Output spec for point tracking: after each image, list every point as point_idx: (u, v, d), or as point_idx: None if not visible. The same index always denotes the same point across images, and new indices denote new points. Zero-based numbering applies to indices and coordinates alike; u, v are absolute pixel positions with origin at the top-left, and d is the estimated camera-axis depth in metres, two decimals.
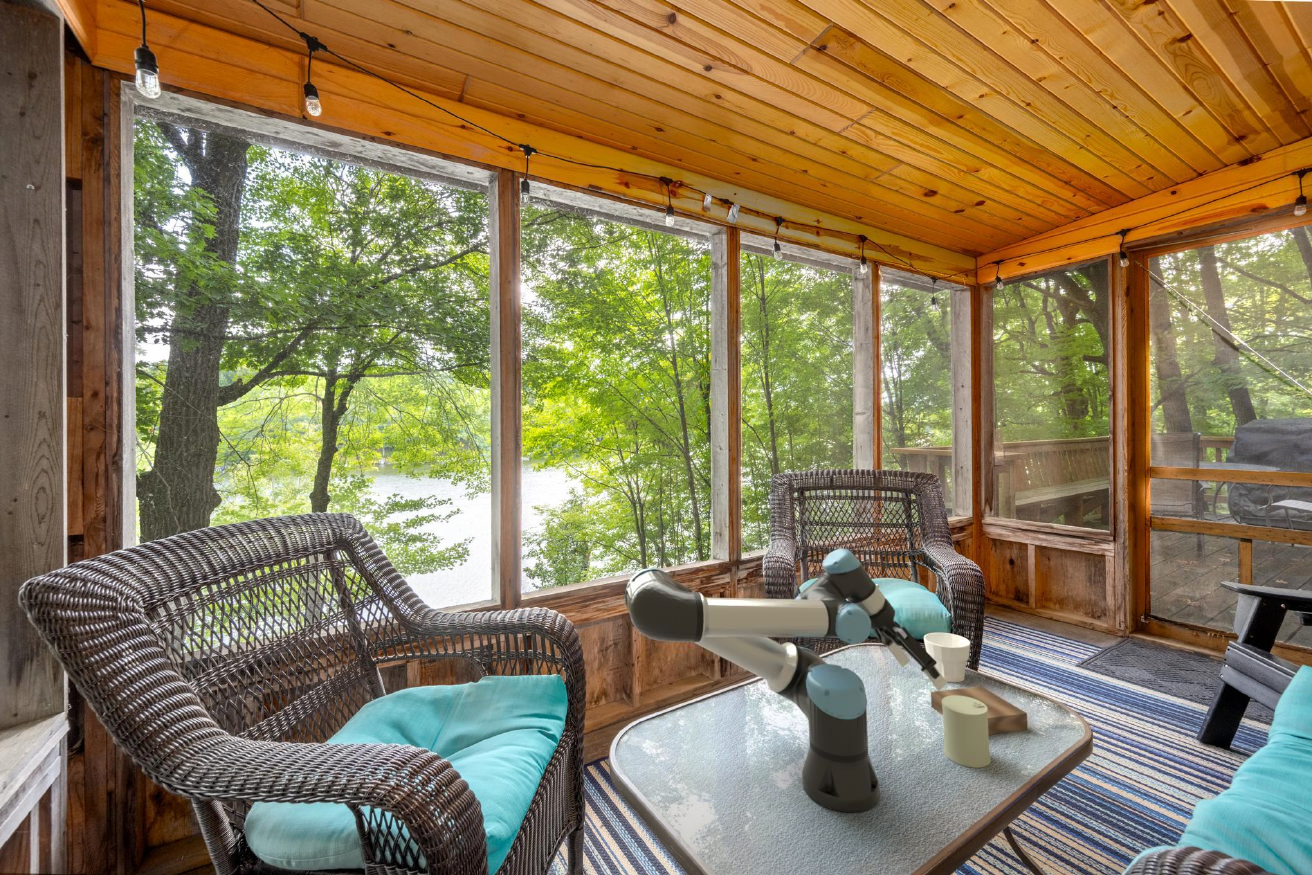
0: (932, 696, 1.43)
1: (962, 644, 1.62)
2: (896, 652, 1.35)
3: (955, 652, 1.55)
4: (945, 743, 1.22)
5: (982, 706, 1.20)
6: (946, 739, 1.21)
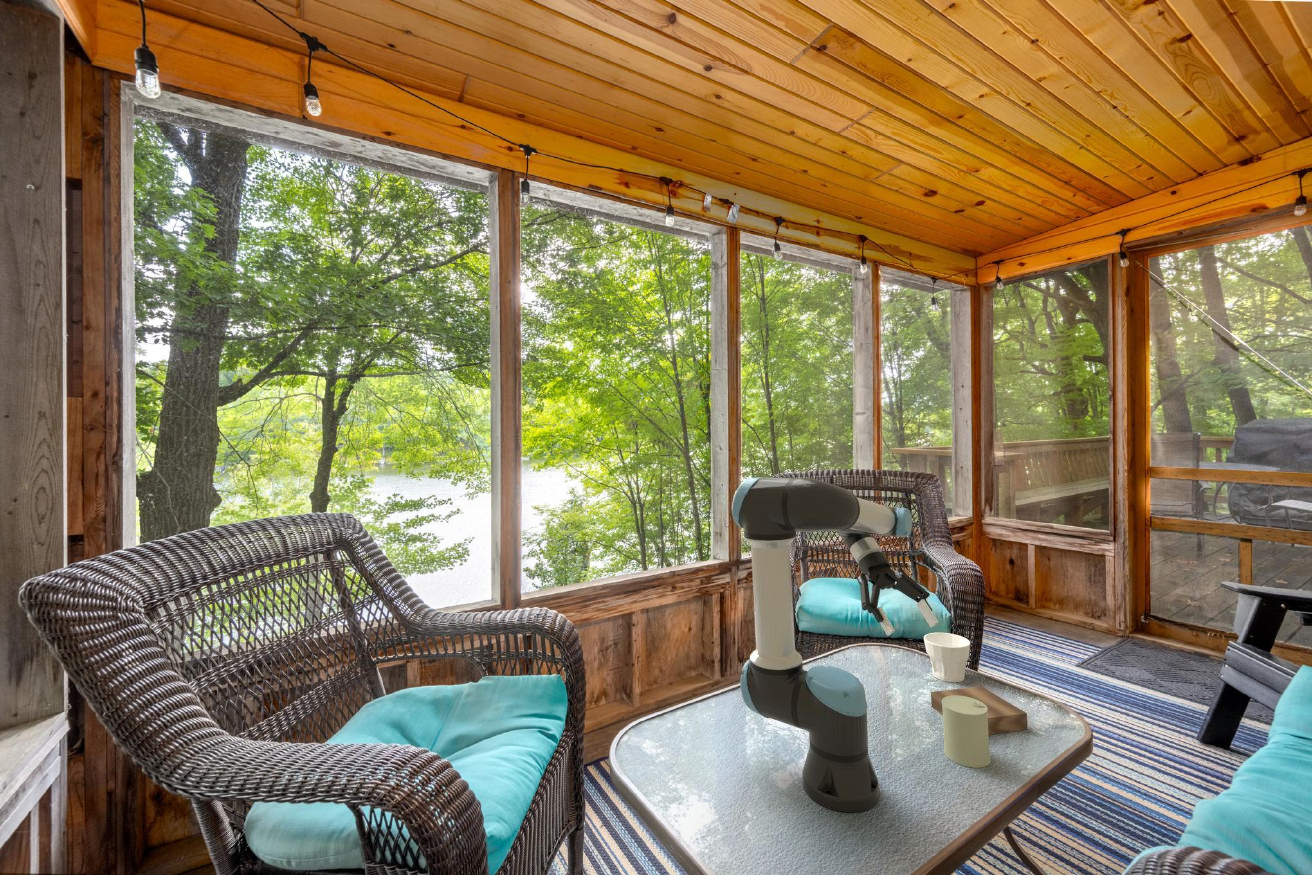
0: (932, 696, 1.43)
1: (962, 644, 1.62)
2: None
3: (955, 652, 1.55)
4: (945, 743, 1.22)
5: (982, 706, 1.20)
6: (946, 739, 1.21)
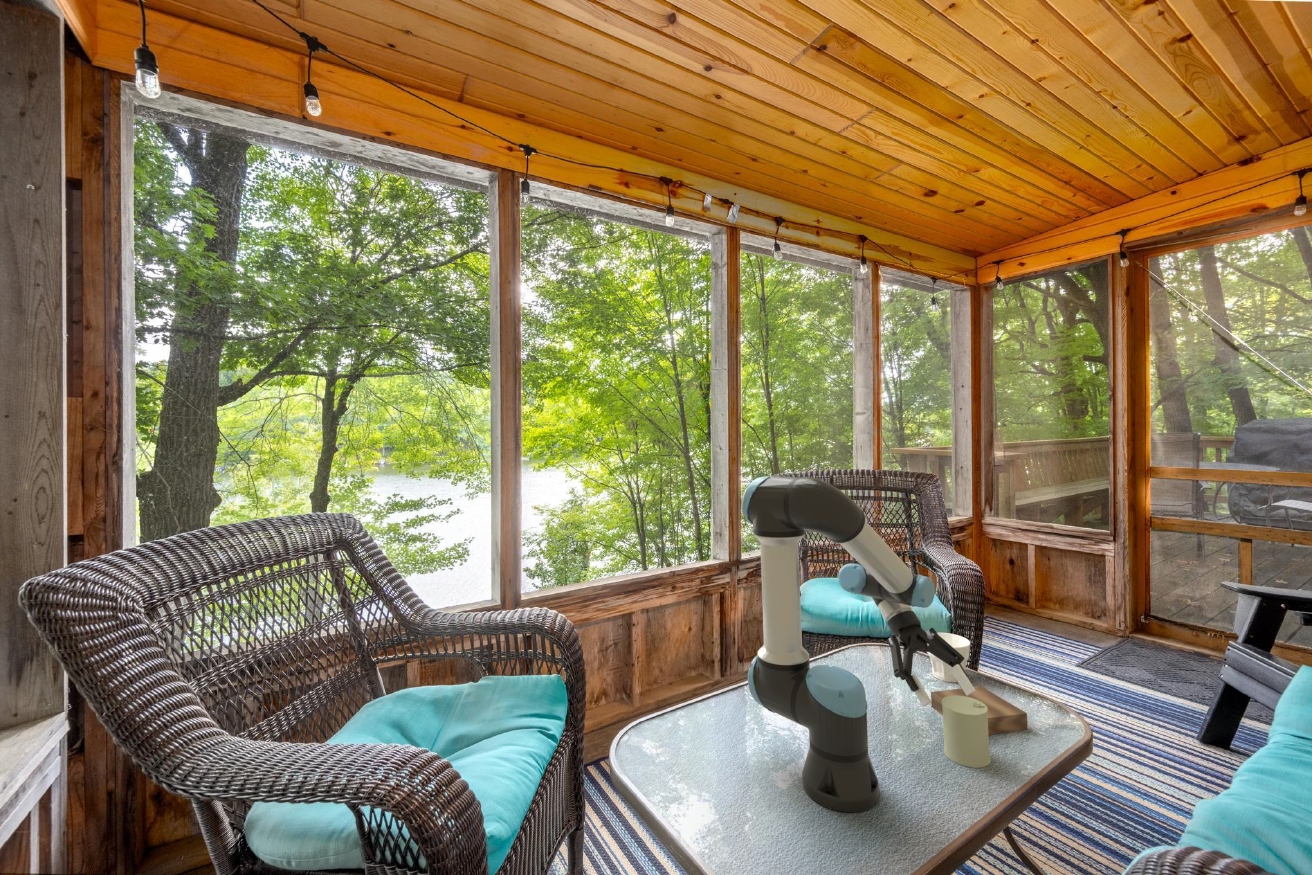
0: (932, 696, 1.43)
1: (962, 644, 1.62)
2: None
3: None
4: (945, 743, 1.22)
5: (982, 706, 1.20)
6: (946, 739, 1.21)
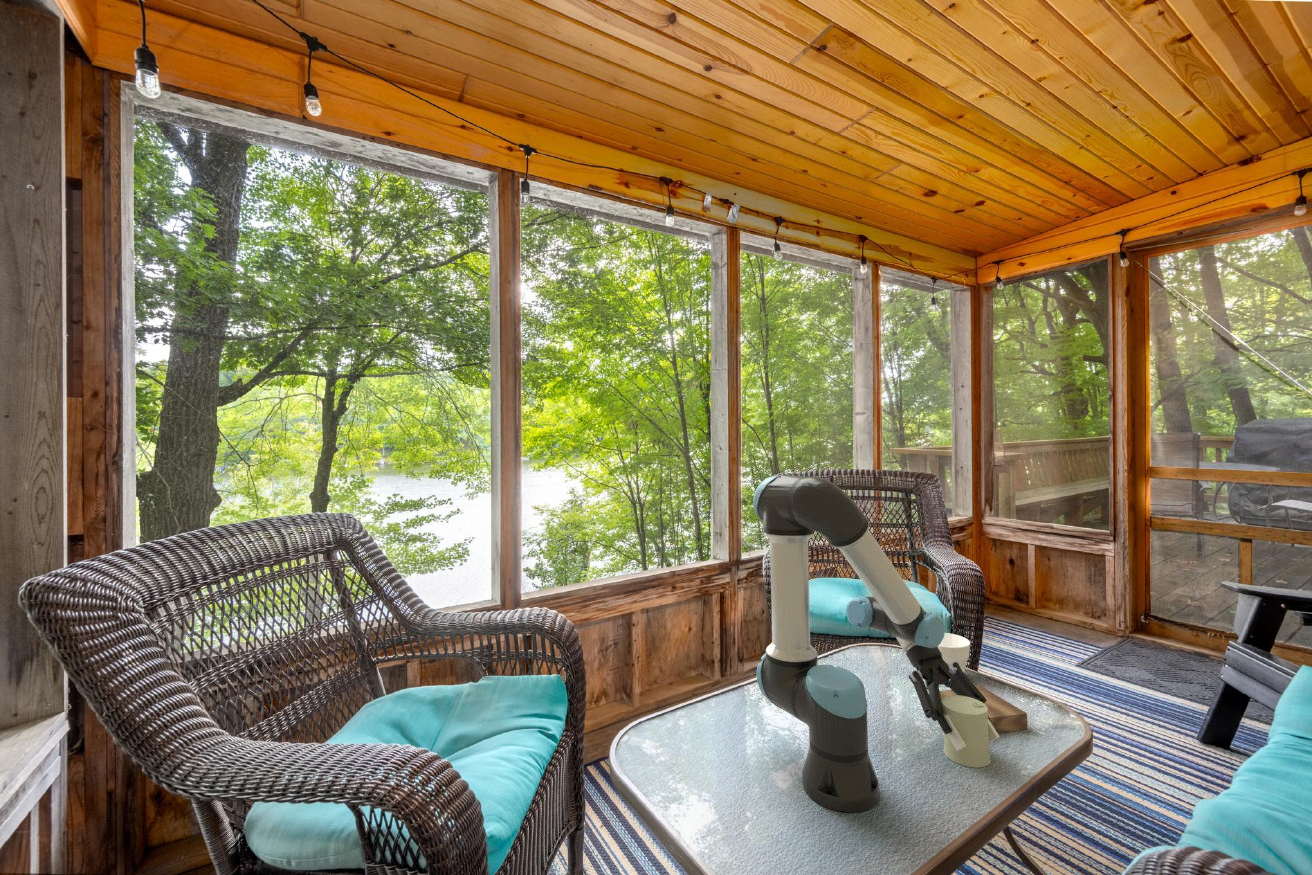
0: None
1: (962, 644, 1.62)
2: None
3: (955, 652, 1.55)
4: (945, 743, 1.22)
5: (982, 706, 1.20)
6: (946, 739, 1.21)
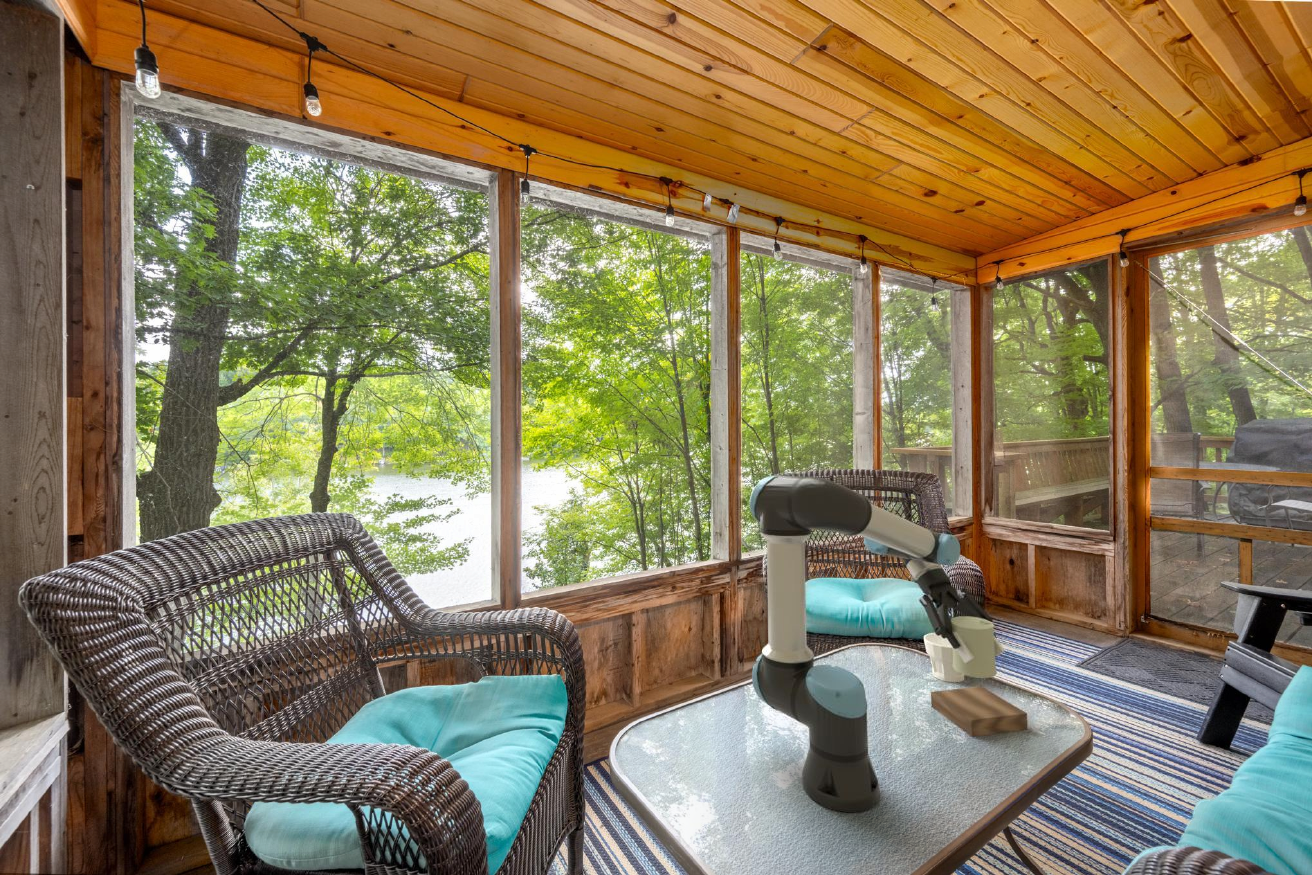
0: (932, 696, 1.43)
1: None
2: None
3: None
4: (954, 658, 1.31)
5: (988, 623, 1.29)
6: (955, 654, 1.30)
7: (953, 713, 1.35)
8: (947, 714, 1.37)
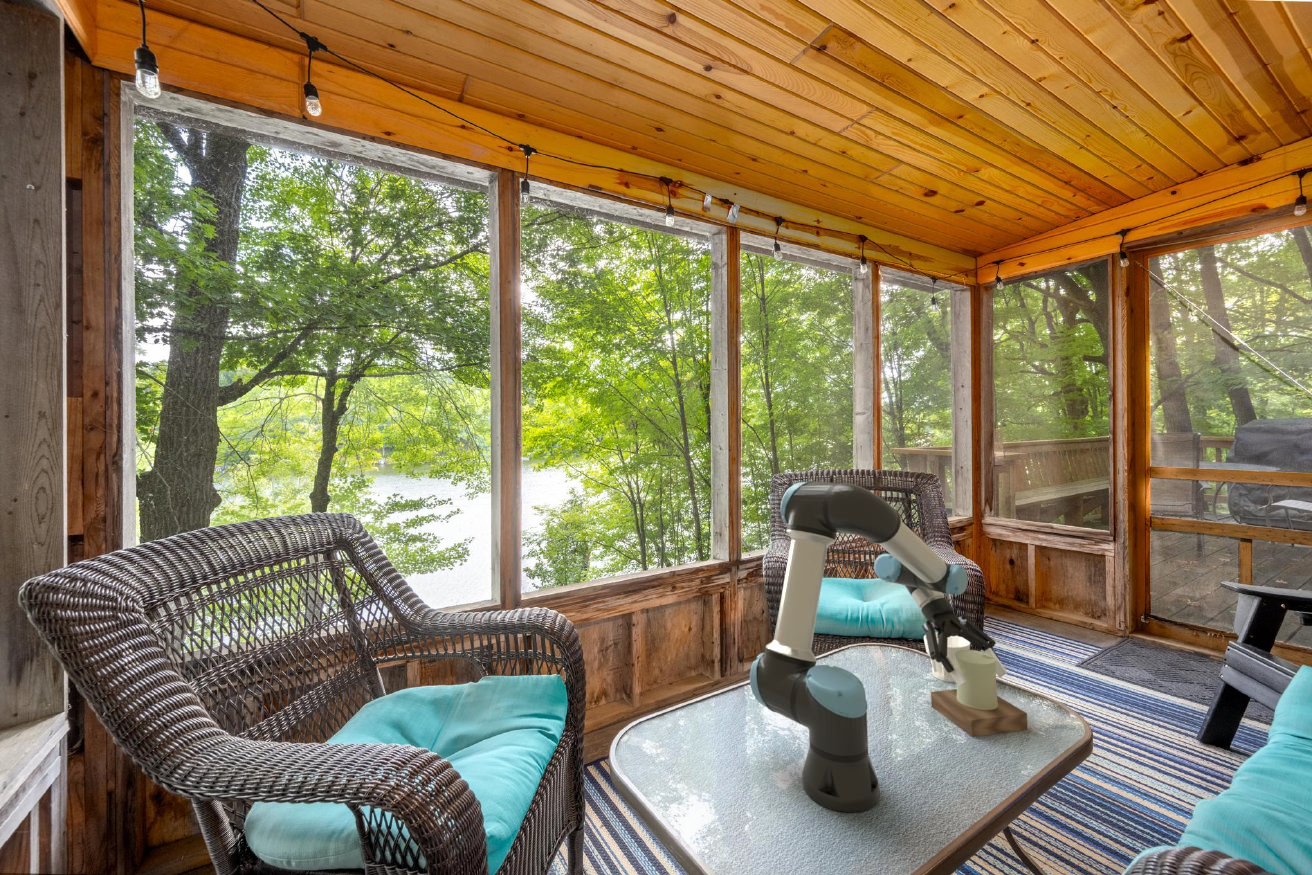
0: (932, 696, 1.43)
1: (962, 644, 1.62)
2: None
3: None
4: (958, 691, 1.38)
5: (991, 657, 1.36)
6: (959, 687, 1.37)
7: (953, 713, 1.35)
8: (947, 714, 1.37)
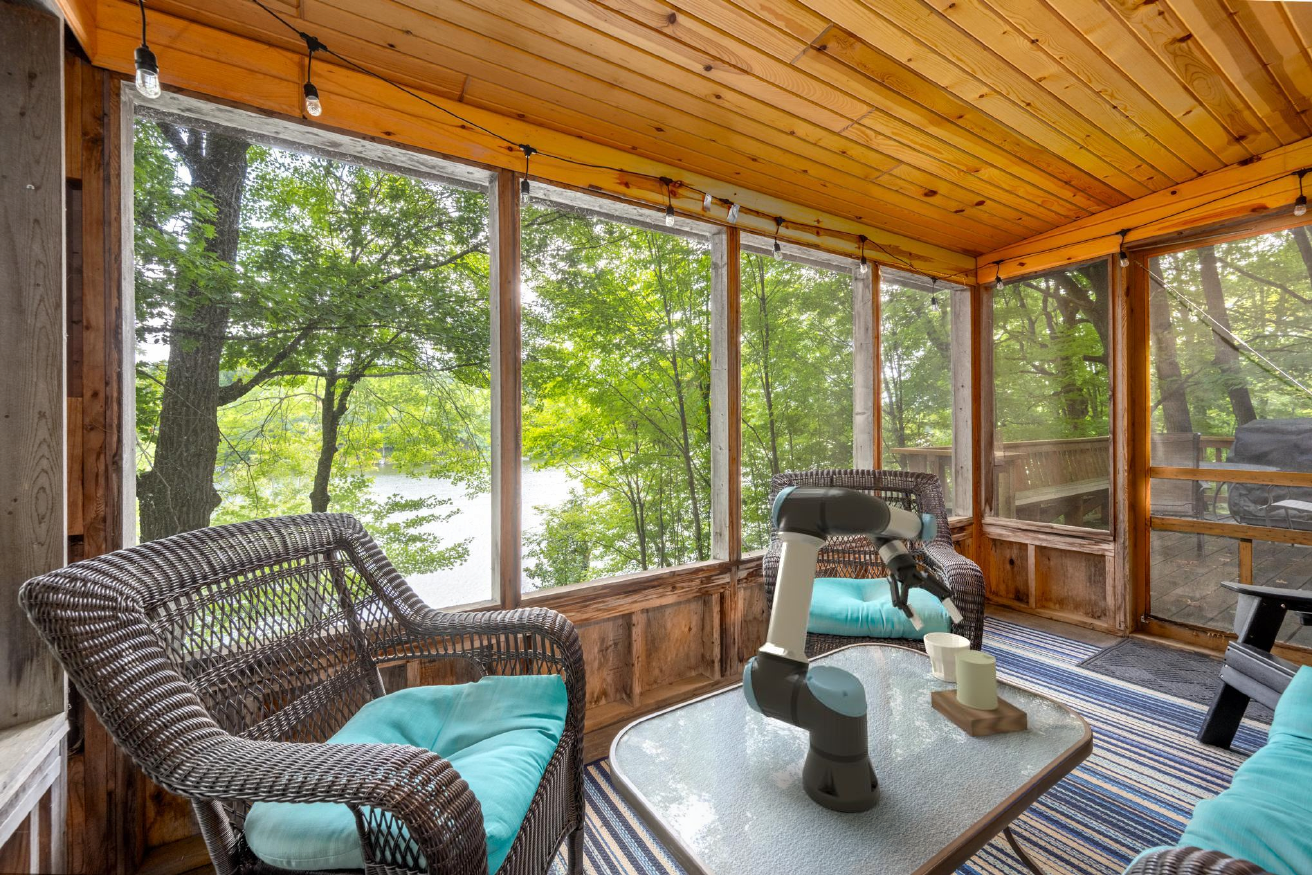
0: (932, 696, 1.43)
1: (962, 644, 1.62)
2: None
3: (955, 652, 1.55)
4: (958, 691, 1.38)
5: (991, 657, 1.36)
6: (959, 687, 1.37)
7: (953, 713, 1.35)
8: (947, 714, 1.37)
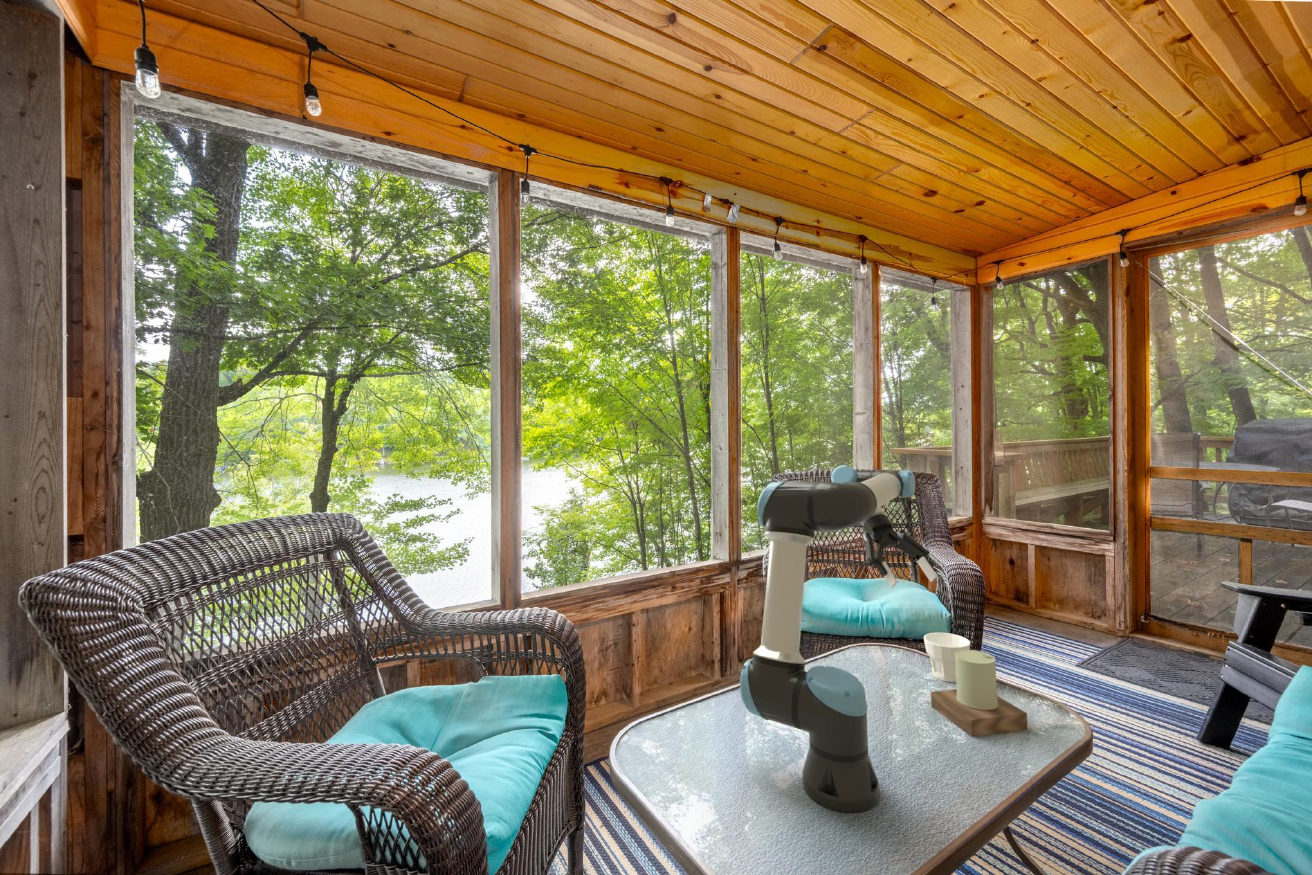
0: (932, 696, 1.43)
1: (962, 644, 1.62)
2: None
3: None
4: (958, 691, 1.38)
5: (990, 657, 1.36)
6: (959, 687, 1.37)
7: (953, 713, 1.35)
8: (947, 714, 1.37)
